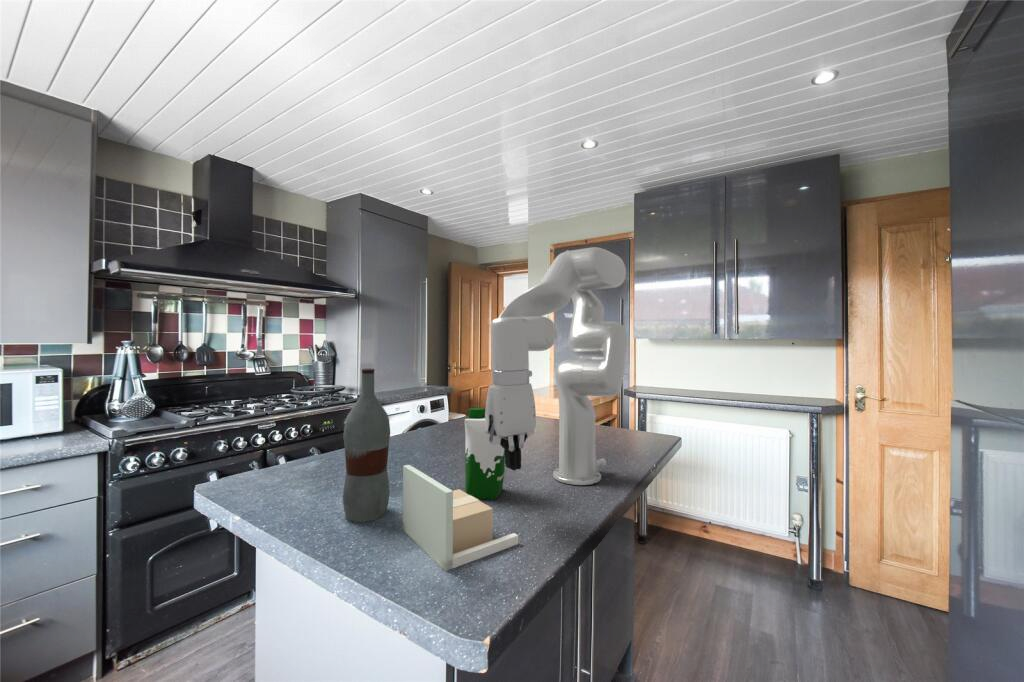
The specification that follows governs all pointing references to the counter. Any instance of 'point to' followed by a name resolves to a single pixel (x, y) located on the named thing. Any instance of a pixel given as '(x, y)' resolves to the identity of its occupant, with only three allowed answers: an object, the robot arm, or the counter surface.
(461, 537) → the kraft carton
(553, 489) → the counter surface
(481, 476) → the milk carton
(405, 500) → the display stand
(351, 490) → the bottle
